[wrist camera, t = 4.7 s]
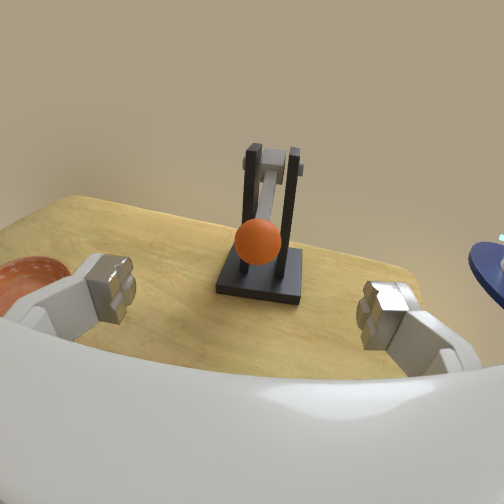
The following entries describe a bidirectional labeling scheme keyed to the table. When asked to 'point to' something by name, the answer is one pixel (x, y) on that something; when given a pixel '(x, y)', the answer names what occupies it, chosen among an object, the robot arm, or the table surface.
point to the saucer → (28, 277)
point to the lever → (263, 215)
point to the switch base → (288, 259)
